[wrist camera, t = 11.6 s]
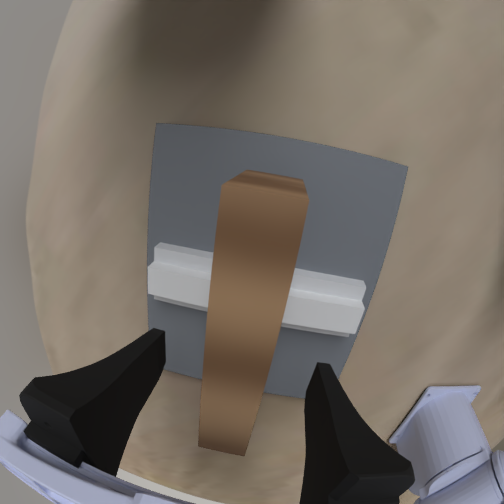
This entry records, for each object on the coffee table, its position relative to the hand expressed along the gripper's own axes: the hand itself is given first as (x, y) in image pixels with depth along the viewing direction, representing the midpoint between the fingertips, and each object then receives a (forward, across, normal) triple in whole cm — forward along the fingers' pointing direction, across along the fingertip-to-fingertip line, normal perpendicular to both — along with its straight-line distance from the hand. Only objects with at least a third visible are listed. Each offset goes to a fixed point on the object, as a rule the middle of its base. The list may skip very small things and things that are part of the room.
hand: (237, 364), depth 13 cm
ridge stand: (+9, 0, 0) cm, 9 cm away
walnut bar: (+6, 0, 0) cm, 6 cm away
